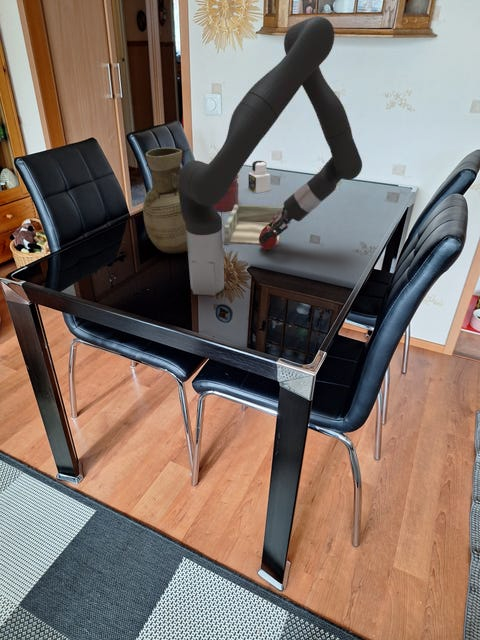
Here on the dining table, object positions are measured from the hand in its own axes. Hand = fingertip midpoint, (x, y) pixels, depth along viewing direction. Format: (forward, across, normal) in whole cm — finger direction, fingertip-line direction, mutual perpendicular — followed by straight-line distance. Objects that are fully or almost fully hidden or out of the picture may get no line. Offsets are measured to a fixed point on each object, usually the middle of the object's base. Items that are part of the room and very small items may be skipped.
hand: (262, 237), depth 137 cm
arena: (+6, -13, 0) cm, 14 cm away
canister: (+18, -38, -11) cm, 43 cm away
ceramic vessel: (+23, +1, -17) cm, 29 cm away
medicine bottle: (+9, -60, -3) cm, 61 cm away
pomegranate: (+2, 0, +4) cm, 5 cm away
